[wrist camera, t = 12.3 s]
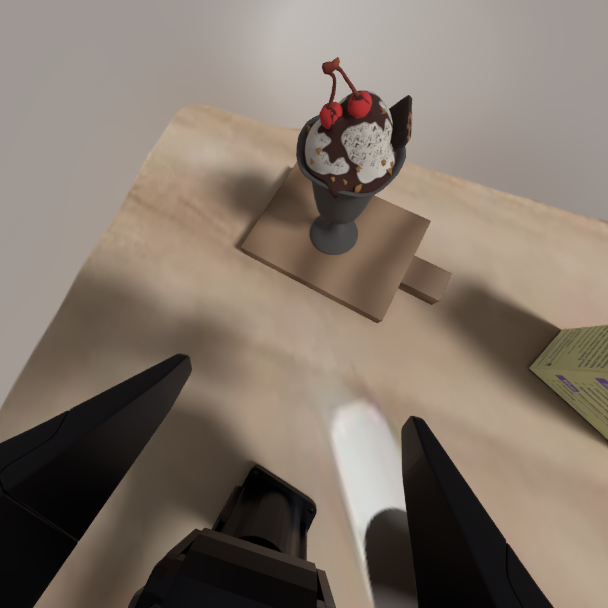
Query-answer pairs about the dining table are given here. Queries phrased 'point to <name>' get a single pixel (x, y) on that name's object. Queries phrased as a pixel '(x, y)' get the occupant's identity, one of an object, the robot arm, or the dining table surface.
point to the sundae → (350, 159)
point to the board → (353, 264)
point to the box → (579, 371)
